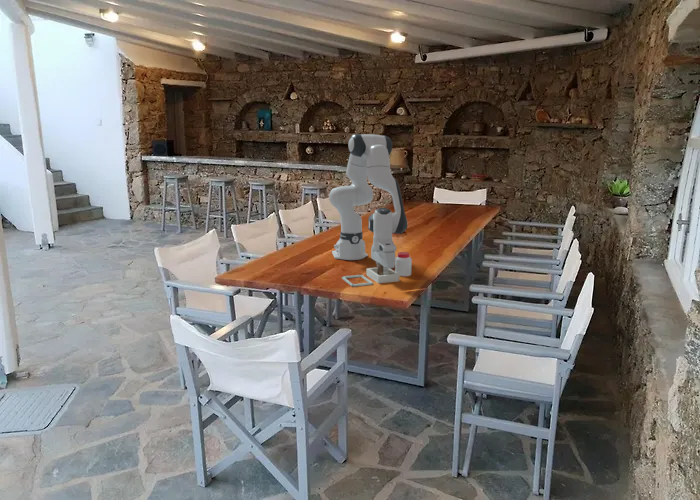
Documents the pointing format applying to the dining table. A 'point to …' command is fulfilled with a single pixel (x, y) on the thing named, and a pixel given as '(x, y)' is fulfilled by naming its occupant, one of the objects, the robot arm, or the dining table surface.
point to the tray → (357, 284)
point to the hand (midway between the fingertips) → (382, 272)
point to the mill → (380, 269)
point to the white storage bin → (390, 276)
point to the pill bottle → (403, 264)
